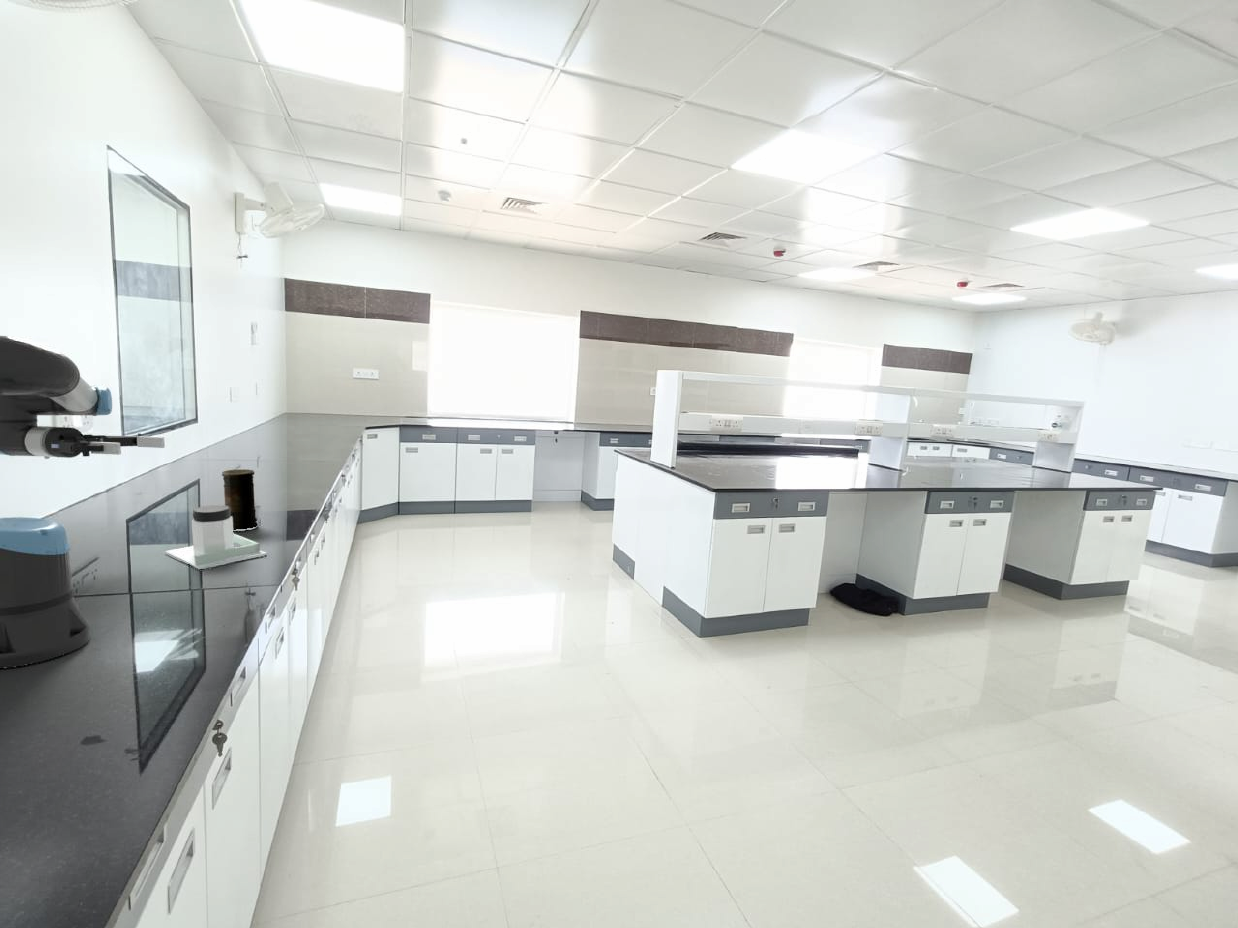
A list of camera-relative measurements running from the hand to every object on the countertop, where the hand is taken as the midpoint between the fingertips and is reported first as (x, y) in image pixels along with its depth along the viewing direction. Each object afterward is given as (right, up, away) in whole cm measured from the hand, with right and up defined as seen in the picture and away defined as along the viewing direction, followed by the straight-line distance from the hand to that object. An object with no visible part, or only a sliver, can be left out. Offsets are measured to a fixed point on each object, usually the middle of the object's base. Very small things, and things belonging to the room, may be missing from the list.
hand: (142, 445), depth 147 cm
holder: (+11, -29, +12) cm, 33 cm away
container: (+1, -25, +37) cm, 44 cm away
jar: (+10, -28, +11) cm, 32 cm away
